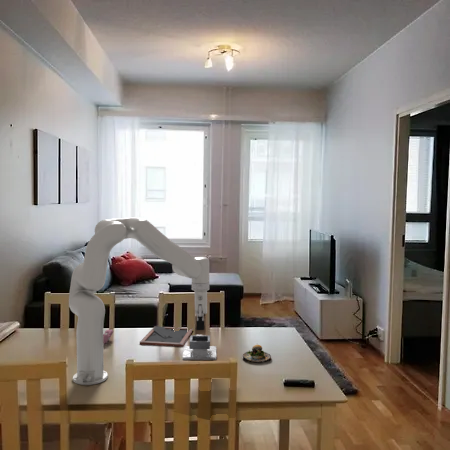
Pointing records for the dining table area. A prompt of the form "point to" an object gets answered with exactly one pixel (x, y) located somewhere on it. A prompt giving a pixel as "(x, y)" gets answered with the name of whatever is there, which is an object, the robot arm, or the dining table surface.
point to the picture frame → (166, 336)
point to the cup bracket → (199, 349)
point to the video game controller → (107, 336)
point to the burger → (257, 354)
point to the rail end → (200, 332)
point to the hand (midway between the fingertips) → (200, 327)
